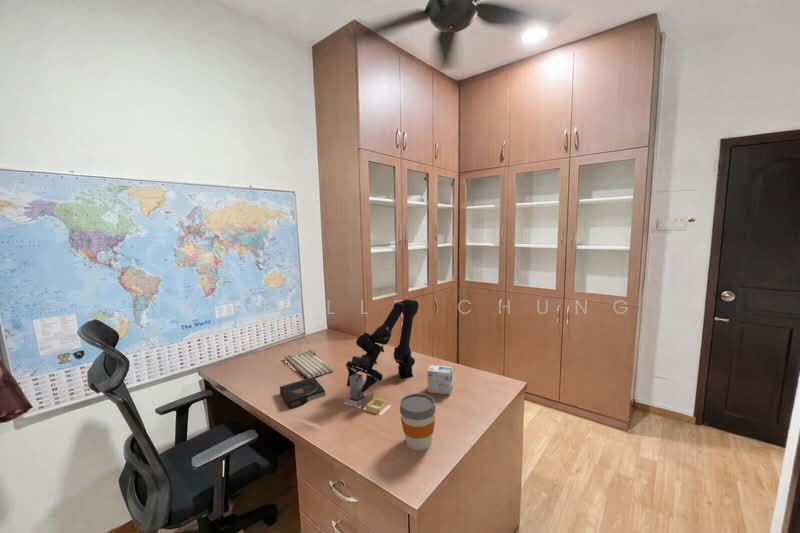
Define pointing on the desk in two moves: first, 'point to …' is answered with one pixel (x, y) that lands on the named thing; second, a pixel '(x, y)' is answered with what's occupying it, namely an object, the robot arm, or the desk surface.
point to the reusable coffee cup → (418, 420)
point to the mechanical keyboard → (308, 364)
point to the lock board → (370, 404)
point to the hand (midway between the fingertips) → (354, 389)
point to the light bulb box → (440, 379)
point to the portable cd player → (301, 392)
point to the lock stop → (356, 387)
